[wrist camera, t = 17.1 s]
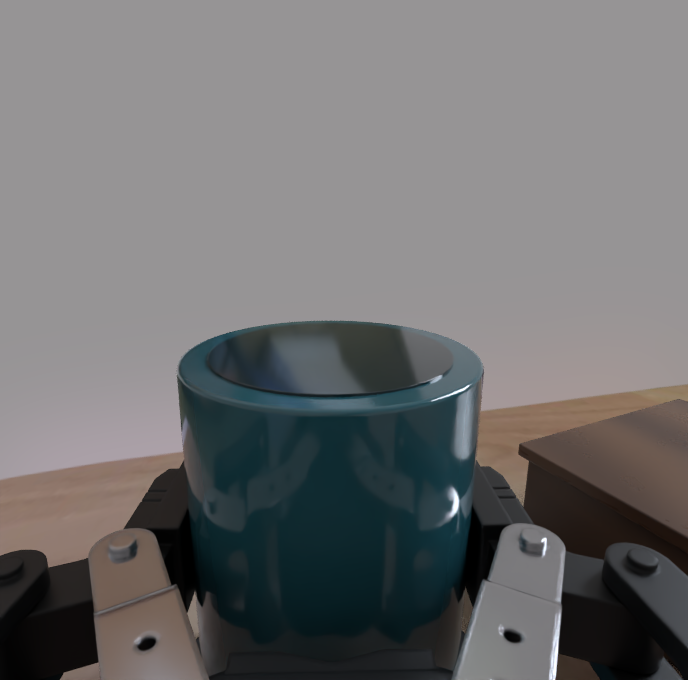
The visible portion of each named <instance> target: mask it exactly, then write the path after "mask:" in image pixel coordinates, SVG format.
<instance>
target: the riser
mask: <svg viewBox="0 0 688 680" xmlns="http://www.w3.org/2000/svg"><path fill="white" fill-rule="evenodd" d="M518 454H519V455H520V456H522V457H523V458H525V459H527V460H529V465H528V474H527V482H526V491H525V499H524V507H523V508H524V509H525V511H526V512H527V514H528V515H529V517H530V519H531V520H532V522H533V523H534V525H537V526H540V527H543V528H545V529H547V530H549V531H551V532H553V533H554V534H555V535H557V536H558V537H559V538H560V539H561V540H562V542H563V543H564V545H565V549H566V551H568V552H571V553H574V554H578V555H583V556H588V557H592V558H597V559H602V560H604V558H605V552H606V549H607V548H608V547H609V546H610V545H612V544H615V543H634V544H638V545H642V546H645V547H648V548H650V549H653V550H655V551H657V552H659V553H661V554H662V555H664V556H665V557H667V558H668V559H669V560H670V561H672V562H673V563H674V564H675V565H676V566H677V567H678V568H679V569H680V570H681V571H683V572H684V573H685V574H686V575H687V576H688V402H687V401H684V400H681V399H677V400H674V401H670V402H667V403H663V404H660V405H656V406H652V407H649V408H645V409H642V410H638V411H635V412H631V413H627V414H624V415H620V416H617V417H613V418H610V419H606V420H603V421H599V422H595V423H592V424H588V425H585V426H581V427H578V428H574V429H570V430H567V431H563V432H560V433H556V434H553V435H549V436H546V437H542V438H538V439H535V440H531V441H528V442H524V443H521V444H519V452H518ZM663 656H664V657H665V658H666V659H668V660H669V661H670V662H671V663H673V664H674V665H675V663H674V662H673V661H672V660H671V659H670V658H669V656H668V655H667V654H666V653H665V652H664V655H663ZM675 666H676V665H675ZM676 667H677V666H676Z"/></svg>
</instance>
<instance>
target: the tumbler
mask: <svg viewBox="0 0 688 680" xmlns="http://www.w3.org/2000/svg"><path fill="white" fill-rule="evenodd" d="M483 374H484V369H483V364H482V362H481V360H480V358H479V357H478V356H477V354H476V353H475V352H474V351H472V350H471V349H469V348H468V347H466V346H465V345H462V344H461V343H459V342H456V341H454V340H452V339H449V338H447V337H444V336H441V335H438V334H435V333H430V332H427V331H423V330H418V329H414V328H408V327H403V326H396V325H389V324H381V323H370V322H356V321H305V322H291V323H280V324H271V325H264V326H258V327H252V328H247V329H242V330H238V331H234V332H229V333H226V334H223V335H220V336H217V337H214V338H211V339H209V340H206V341H204V342H202V343H200V344H198V345H196V346H194V347H193V348H191V349H190V350H188V351H187V352H186V353H185V354H184V355H183V356H182V357H181V359H180V361H179V363H178V366H177V382H178V393H179V406H180V417H181V429H182V441H183V453H184V465H185V477H186V488H187V500H188V512H189V524H190V536H191V547H192V559H193V571H194V583H195V595H196V606H197V618H198V630H199V642H200V654H201V657H202V660H203V663H204V666H205V669H206V672H207V675H208V676H211V675H213V674H216V673H219V672H223V671H225V670H226V665H227V661H228V656H229V652H277V651H280V652H285V653H289V654H294V655H298V656H303V657H307V658H312V659H317V660H321V661H326V662H336V661H340V660H344V659H348V658H351V657H355V656H359V655H363V654H367V653H371V652H374V651H378V650H382V649H421V648H432V650H433V654H434V658H435V662H436V666H438V667H442V668H446V669H448V670H451V671H454V669H455V666H456V663H457V659H458V656H459V652H460V640H461V629H462V617H463V606H464V594H465V583H466V571H467V560H468V548H469V537H470V525H471V513H472V502H473V490H474V479H475V467H476V456H477V444H478V433H479V421H480V410H481V398H482V387H483Z"/></svg>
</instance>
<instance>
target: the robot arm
mask: <svg viewBox="0 0 688 680" xmlns="http://www.w3.org/2000/svg"><path fill="white" fill-rule="evenodd" d="M465 587H466V589H467V592H468V595H469V598H470V600H471V603H472V606H473V611H472V614H471V617H470V621H469V624H468V627H467V630H466V634H465V637H464V640H463V643H462V646H461V650H460V653H459V656H458V659H457V663H456V666H455V669H454V671H451V670H448V669H446V668H442V667H438V666H436V662H435V658H434V654H433V650H432V648H421V649H382V650H378V651H374V652H371V653H367V654H363V655H359V656H355V657H351V658H348V659H344V660H340V661H336V662H326V661H321V660H317V659H312V658H307V657H303V656H298V655H294V654H289V653H285V652H280V651H277V652H229V656H228V661H227V665H226V670H225V671H223V672H219V673H216V674H213V675H211V676H208V675H207V672H206V669H205V666H204V663H203V660H202V657H201V654H200V651H199V648H198V645H197V642H196V639H195V636H194V633H193V630H192V627H191V624H190V621H189V618H188V615H187V612H188V609H189V607H190V604H191V601H192V598H193V595H194V592H195V583H194V571H193V559H192V547H191V536H190V524H189V512H188V500H187V488H186V477H185V465H184V461H183V463H182V465H181V466H180V468H179V469H168V470H167V471H166V472H164V473H163V474H161V475H160V476H159V477H157V478H156V479H155V480H154V482H153V483H152V485H151V487H150V488H149V490H148V492H147V493H146V494H145V496H144V498H143V499H142V502H140V504H139V506H138V507H137V509H136V510H135V512H134V513H133V515H132V517H131V518H130V520H129V521H128V523H127V524H126V526H125V528H124V529H123V530H119V531H116V532H114V533H111V534H109V535H107V536H105V537H103V538H102V539H101V540H99V541H98V542H97V543H96V544H95V545H94V546H93V547H92V548H91V550H90V552H89V555H88V558H86V559H84V560H80V561H76V562H72V563H67V564H63V565H58V566H54V567H49V568H48V563H47V558H46V556H45V555H44V554H43V553H42V552H40V551H36V550H19V551H14V552H10V553H7V554H4V555H1V556H0V680H60V678H61V677H62V675H63V673H64V672H67V671H71V670H74V669H77V668H81V667H84V666H87V665H91V664H94V663H98V662H99V669H100V678H101V680H556V670H557V658H558V653H559V654H563V655H566V656H570V657H574V658H578V659H582V660H586V661H589V662H590V664H591V666H592V668H593V670H594V671H595V672H596V674H597V675H598V677H599V678H600V680H688V576H687V575H686V574H685V573H684V572H683V571H681V570H680V569H679V568H678V567H677V566H676V565H675V564H674V563H673V562H672V561H670V560H669V559H668V558H667V557H665V556H664V555H662V554H661V553H659V552H657V551H655V550H653V549H650V548H648V547H645V546H642V545H638V544H634V543H615V544H612V545H610V546H609V547H608V548H607V549H606V552H605V558H604V560H602V559H597V558H592V557H588V556H583V555H578V554H574V553H571V552H568V551H566V549H565V545H564V543H563V542H562V540H561V539H560V538H559V537H558V536H557V535H555V534H554V533H553V532H551V531H549V530H547V529H545V528H543V527H540V526H537V525H534V523H533V522H532V520H531V519H530V517H529V515H528V514H527V512H526V511H525V509H524V508H523V506H522V505H521V503H520V502H519V500H518V498H516V495H515V494H514V492H513V491H512V489H510V486H509V485H508V483H507V482H506V480H505V478H504V477H503V476H502V475H501V474H499V473H498V472H497V471H495V470H494V469H492V468H491V467H480V465H479V464H478V462H477V460H476V467H475V479H474V490H473V502H472V513H471V525H470V537H469V548H468V560H467V571H466V583H465ZM664 652H665V653H666V654H667V655H668V656H669V658H670V659H671V660H672V661H673V662H674V663H675V665H676V666H677V668H678V669H679V671H680V673H681V675H682V677H683V679H682V678H681V677H680V676H679V675H678V673H677V672H676V671H675V670H674V669H673V668H672V666H671V665H670V664H669V663H668V662H667V661H666V659H665V658H664V657H663V655H664Z"/></svg>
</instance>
